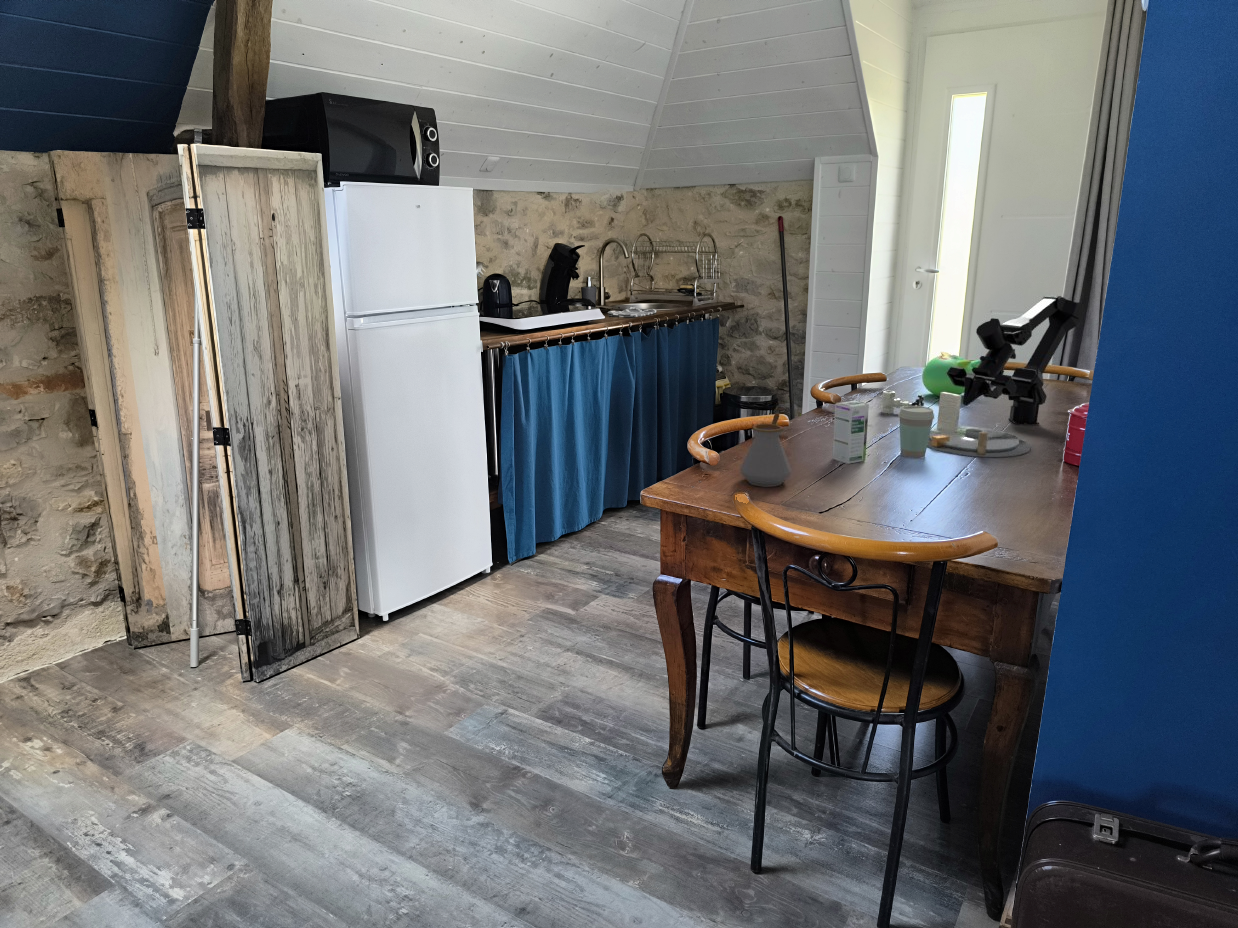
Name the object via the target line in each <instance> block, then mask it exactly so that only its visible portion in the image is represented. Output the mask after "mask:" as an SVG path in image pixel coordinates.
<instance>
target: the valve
mask: <svg viewBox="0 0 1238 928" xmlns="http://www.w3.org/2000/svg"><path fill="white" fill-rule="evenodd" d="M924 398H925V397H924V396H923V395H922V394H918V395H917V398H916V399H915V401H912V402H910V401H908V400H907V401H903V400H902V398H896V392H895V391H893V390H884V391H882V398H881V400H880V401H881V402H880V403H881V412H882V414H887V413H888V415H889V414H894V412H895V409H901V408H902V407H905V406H922V407H925V406H924V405H925V403H924Z"/></svg>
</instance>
